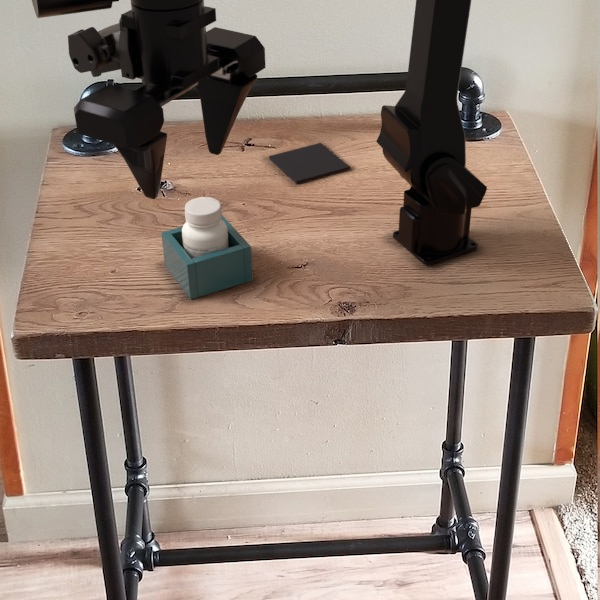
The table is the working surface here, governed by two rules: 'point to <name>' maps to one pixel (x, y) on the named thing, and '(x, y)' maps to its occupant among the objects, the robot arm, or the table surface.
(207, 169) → the table surface
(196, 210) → the pill bottle
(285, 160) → the mat
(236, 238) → the holder
